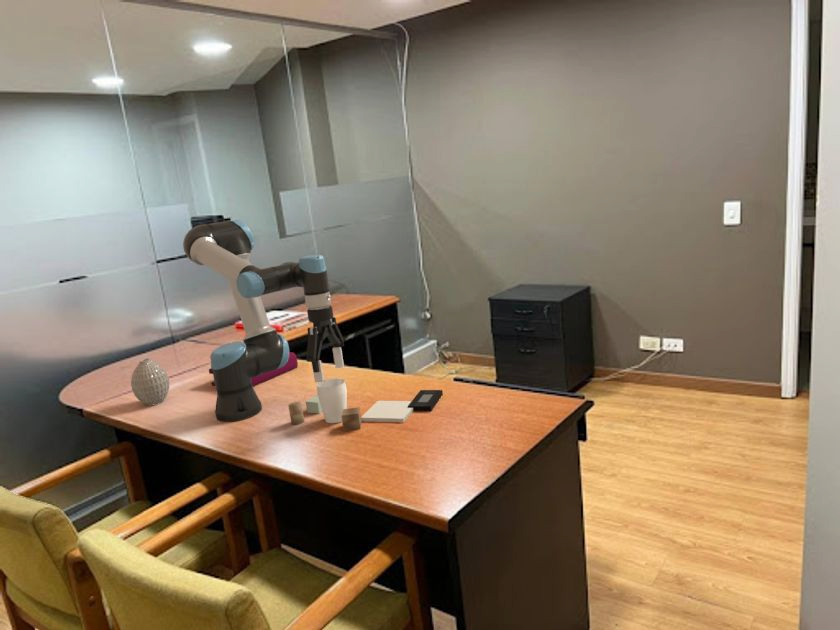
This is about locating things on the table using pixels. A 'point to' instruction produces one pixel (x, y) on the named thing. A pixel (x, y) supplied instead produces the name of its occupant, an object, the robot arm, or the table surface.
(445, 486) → the table surface
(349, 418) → the walnut cube
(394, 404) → the tile
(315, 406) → the sage block
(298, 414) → the oak cylinder
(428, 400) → the vhs tape
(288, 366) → the book
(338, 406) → the cup
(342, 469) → the table surface
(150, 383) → the vase
